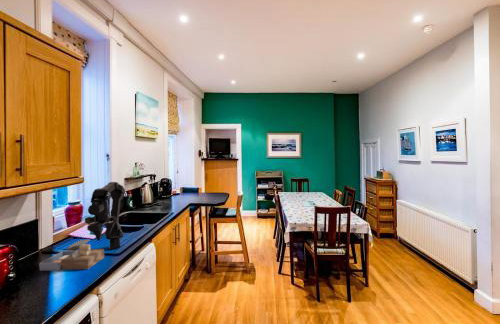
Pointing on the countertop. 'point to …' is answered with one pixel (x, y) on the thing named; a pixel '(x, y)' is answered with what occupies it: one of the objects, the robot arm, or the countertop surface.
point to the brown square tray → (83, 260)
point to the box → (50, 266)
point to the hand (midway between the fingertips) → (103, 237)
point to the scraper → (82, 251)
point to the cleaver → (77, 245)
